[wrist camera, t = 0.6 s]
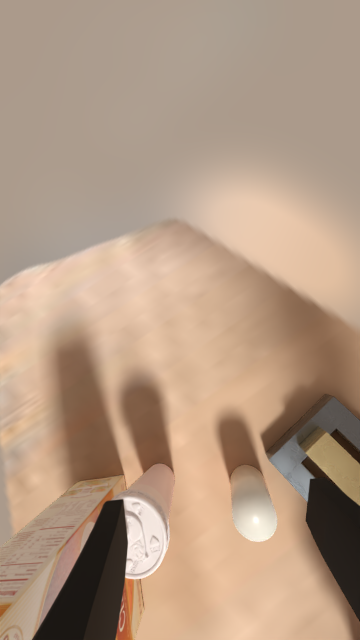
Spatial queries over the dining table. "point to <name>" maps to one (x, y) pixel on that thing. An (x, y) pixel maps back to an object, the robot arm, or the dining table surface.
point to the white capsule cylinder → (252, 504)
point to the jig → (287, 448)
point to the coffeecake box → (57, 561)
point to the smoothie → (147, 520)
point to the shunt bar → (334, 462)
